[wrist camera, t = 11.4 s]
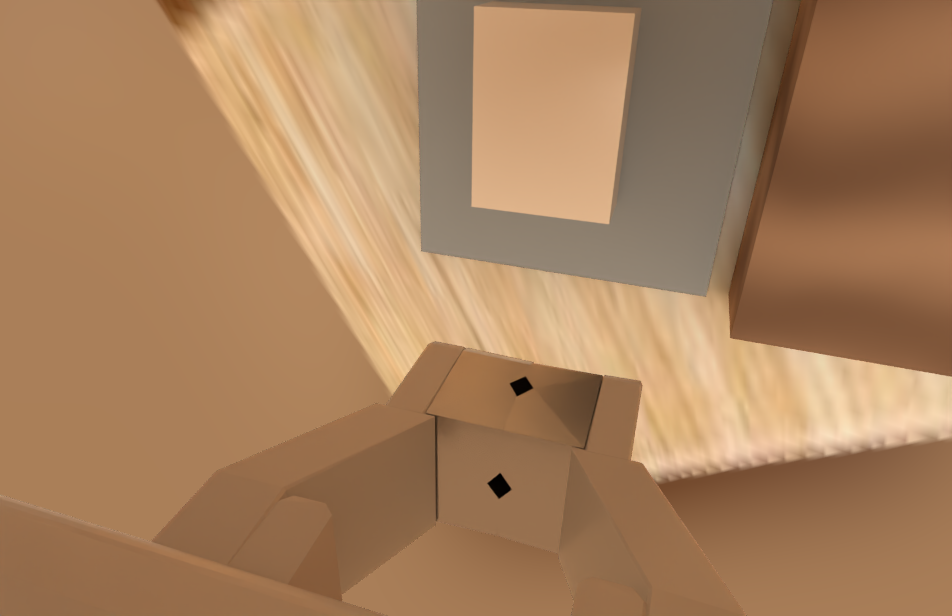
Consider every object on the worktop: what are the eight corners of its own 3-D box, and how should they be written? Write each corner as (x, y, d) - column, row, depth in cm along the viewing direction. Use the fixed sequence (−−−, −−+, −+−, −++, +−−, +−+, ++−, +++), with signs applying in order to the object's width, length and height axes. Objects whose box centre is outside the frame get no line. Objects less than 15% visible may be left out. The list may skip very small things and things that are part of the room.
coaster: (635, 13, 23) (641, 7, 25) (474, 6, 25) (492, 1, 27) (609, 224, 27) (616, 204, 29) (471, 206, 29) (487, 188, 31)
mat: (420, -92, 26) (415, -92, 26) (790, -85, 23) (792, -86, 22) (425, 246, 34) (421, 251, 33) (706, 291, 30) (706, 296, 30)
